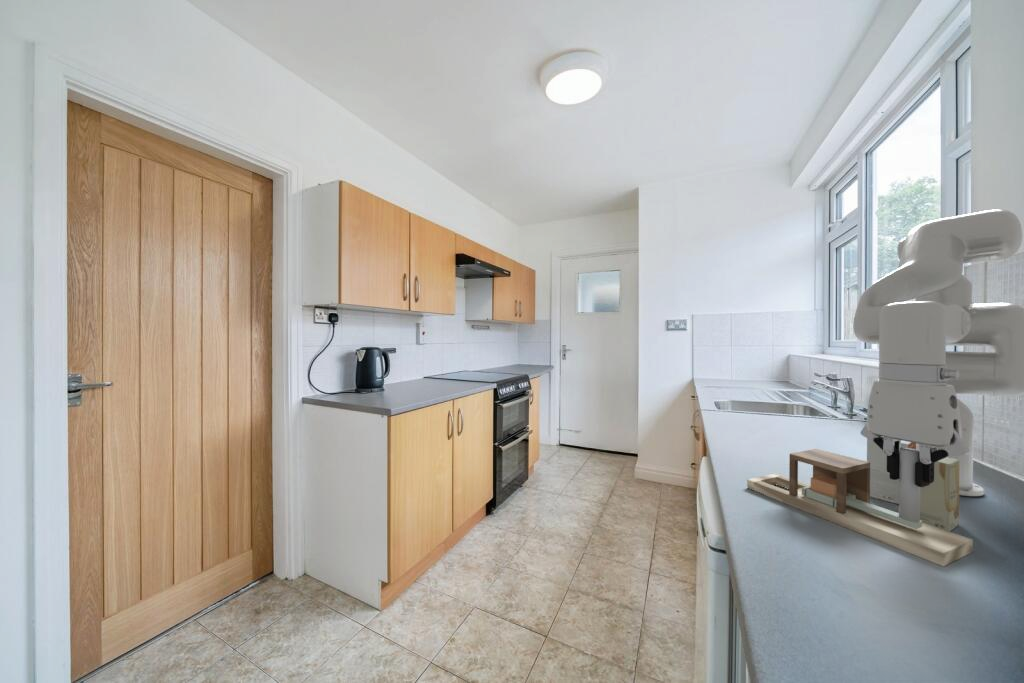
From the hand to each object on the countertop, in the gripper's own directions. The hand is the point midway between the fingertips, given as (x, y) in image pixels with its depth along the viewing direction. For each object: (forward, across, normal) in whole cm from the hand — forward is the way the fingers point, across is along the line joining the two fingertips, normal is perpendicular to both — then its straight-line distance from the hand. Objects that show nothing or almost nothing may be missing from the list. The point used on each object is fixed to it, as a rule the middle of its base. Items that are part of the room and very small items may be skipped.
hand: (909, 480), depth 60 cm
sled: (+8, +7, 0) cm, 10 cm away
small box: (+10, +10, -20) cm, 25 cm away
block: (+8, +12, 0) cm, 14 cm away
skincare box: (+10, +1, -13) cm, 17 cm away
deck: (+10, +10, 0) cm, 14 cm away
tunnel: (+8, +12, 0) cm, 14 cm away
